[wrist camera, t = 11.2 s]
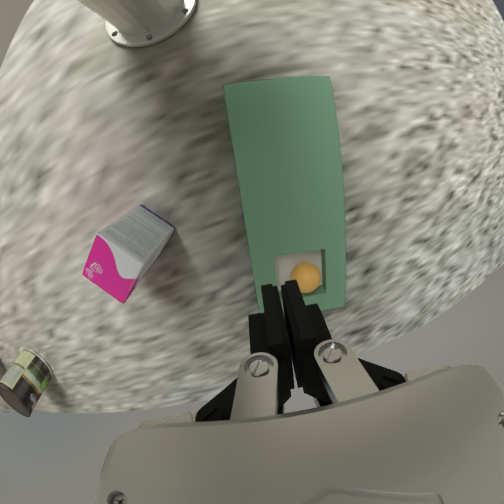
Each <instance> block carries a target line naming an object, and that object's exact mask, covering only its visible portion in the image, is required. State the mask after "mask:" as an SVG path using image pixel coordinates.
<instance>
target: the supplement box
mask: <svg viewBox="0 0 504 504" xmlns="http://www.w3.org/2000/svg"><path fill="white" fill-rule="evenodd" d="M174 230H175V227H174V226H172V225H171V224H169V223H168V222H166V221H165V220H163V219H162V218H160V217H159V216H157V215H156V214H154V213H153V212H152V211H150V210H149V209H147V208H146V207H144V206H143V205H139V206H138V207H136V208H135V209H133V210H131V211H130V212H128V213H127V214H125V215H124V216H122V217H120V218H119V219H117V220H116V221H114V222H113V223H111V224H110V225H108V226H107V227H106V228H104V229H103V230H101V231H100V232H98V233H97V236H96V238H95V241H94V243H93V246H92V248H91V251H90V254H89V256H88V259H87V262H86V265H85V268H84V270H83V273H82V274H83V275H84V276H85V277H86V278H88V279H89V280H90V281H92V282H93V283H95V284H96V285H98V286H99V287H100V288H102V289H103V290H104V291H106V292H107V293H109V294H110V295H111V296H113V297H114V298H116V299H117V300H118V301H120V302H121V303H123V304H124V303H125V302H126V300H127V299H128V297H129V296H130V295H131V293H132V292H133V290H134V289H135V288H136V286H137V285H138V283H139V282H140V281H141V279H142V278H143V276H144V275H145V274H146V272H147V271H148V270H149V269H150V267H151V266H152V265H153V263H154V262H155V261H156V259H157V258H158V257H159V255H160V253H161V252H162V250H163V249H164V247H165V245H166V243H167V242H168V240H169V238H170V237H171V235H172V233H173V232H174Z"/></svg>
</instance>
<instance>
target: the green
mask: <svg viewBox="0 0 504 504" xmlns="http://www.w3.org/2000/svg"><path fill="white" fill-rule="evenodd" d="M223 89H224V95H225V101H226V108H227V114H228V120H229V127H230V133H231V139H232V146H233V152H234V158H235V164H236V171H237V177H238V183H239V189H240V196H241V202H242V208H243V214H244V221H245V227H246V233H247V239H248V245H249V251H250V258H251V264H252V270H253V276H254V282H255V288H256V295H257V301H258V307H259V313H264V306H263V299H262V292H261V285H266V284H272V285H273V286H277V287H278V292H279V296H280V300H281V305H282V309H283V301H282V293H281V285H284V284H285V281H289V280H290V274H291V271H292V269H293V268H294V267H295V266H296V265H297V264H299V263H302V262H309V263H312V264H314V265H315V266H316V267H317V268H318V269H319V271H320V274H321V281H320V284H319V286H318V287H317V288H316V289H315V290H314V291H312V292H309V293H301V294H302V297H303V300H304V303H305V305H310V304H316V303H317V304H318V306H319V308H320V311H322V310H328V309H333V308H339V307H344V306H345V289H346V231H345V205H344V188H343V174H342V162H341V152H340V143H339V134H338V126H337V118H336V111H335V105H334V98H333V92H332V86H331V80H330V76H310V77H288V78H275V79H264V80H255V81H247V82H240V83H233V84H227V85H223ZM283 314H284V309H283Z"/></svg>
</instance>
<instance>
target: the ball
mask: <svg viewBox="0 0 504 504" xmlns="http://www.w3.org/2000/svg"><path fill="white" fill-rule="evenodd" d="M295 279H296V280H297V283H298V286H299V289H300V291H301V293H309V292H312V291H314V290H315V289H316V288H317V287H318V286H319V284H320V281H321V274H320V271H319V269H318V268H317V267H316V266H315V265H314V264H312V263H309V262H302V263H299V264H297V265H296V266H295V267H294V268H293V269H292V271H291V274H290V280H295Z"/></svg>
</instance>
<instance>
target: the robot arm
mask: <svg viewBox="0 0 504 504" xmlns="http://www.w3.org/2000/svg"><path fill="white" fill-rule="evenodd" d="M78 1H79V2H81V3H82V4H84V5H85V6H87V7H88V8H89V9H91V10H92V11H94V12H95V13H97V14H98V15H99V16H101V17H102V18H104V19H105V29H106V32H107V34H108V36H109V37H110V38H111V39H112V40H113V41H115V42H116V43H118V44H120V45H122V46H126V47H143V46H148V45H152V44H155V43H157V42H160V41H162V40H164V39H166V38H168V37H169V36H171V35H173V34H174V33H175V32H177V31H178V30H179V29H180V28H181V27H182V26H183V25H184V24H186V22H187V21H188V20H189V18H190V17H191V15H192V14H193V12H194V10H195V6H196V0H78ZM151 38H152V39H151ZM150 39H151V40H150ZM261 292H262V299H263V306H264V313H258V314H252V315H249V334H250V352H251V355H249V356H247V357H246V358H245V359H244V360H243V361H242V362H241V365H240V369H239V374H238V378H237V379H235V380H234V381H233V382H232V383H231V384H230V385H228V386H227V387H226V388H225V389H224V390H223V391H221V392H220V393H219V394H218V395H217V396H215V397H214V398H213V399H212V400H210V401H209V402H208V403H207V404H206V405H204V406H203V407H202V408H201V409H200V410H199V411H198V412H197V413H194V414H191V412H188V413H183V414H178V415H173V416H168V417H162V418H157V419H151V420H147V421H144V422H143V423H141V424H140V425H139V427H138V428H136V429H133V430H130V431H128V432H125V433H123V434H121V435H120V436H119V437H117V438H116V439H115V440H114V442H113V443H112V445H111V446H110V448H109V450H108V453H107V455H106V458H105V461H104V464H103V467H102V471H101V475H100V479H99V483H98V488H97V493H96V499H95V504H504V388H503V387H502V385H501V384H500V383H499V381H498V380H497V379H496V378H495V377H494V376H493V375H492V374H491V373H490V372H489V371H488V370H487V369H485V368H484V367H481V366H478V365H459V366H454V367H451V366H447V365H445V366H444V365H443V366H438V367H433V368H427V369H421V370H414V371H408V372H406V374H404V375H401V374H400V373H398V372H396V371H393V370H390V369H387V368H384V367H381V366H379V365H376V364H373V363H370V362H367V361H364V360H362V359H359V358H357V357H356V355H355V354H354V353H353V351H352V350H351V348H350V347H349V346H348V345H347V344H346V343H345V342H343V341H341V340H335V339H332V338H331V335H330V333H329V330H328V328H327V325H326V323H325V320H324V318H323V315H322V313H321V311H320V308H319V306H318V304H317V303H316V304H310V305H305V303H304V300H303V297H302V294H301V291H300V289H299V286H298V283H297V280H296V279H295V280H289V281H285V284H284V285H281V293H282V301H283V309H284V314H283V309H282V305H281V300H280V296H279V292H278V287H277V286H273V285H272V284H266V285H261ZM284 317H285V318H284ZM291 356H292V358H291ZM292 361H293V366H294V370H295V375H296V380H297V385H298V388H300V387H303V390H304V393H306V394H308V395H311V396H312V397H314V400H315V403H316V406H317V408H312V409H307V410H302V411H297V412H291V413H285V414H284V403H285V402H286V401H287V400H288V399H289V398H290V397H291V391H290V389H294V379H293V368H292Z"/></svg>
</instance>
